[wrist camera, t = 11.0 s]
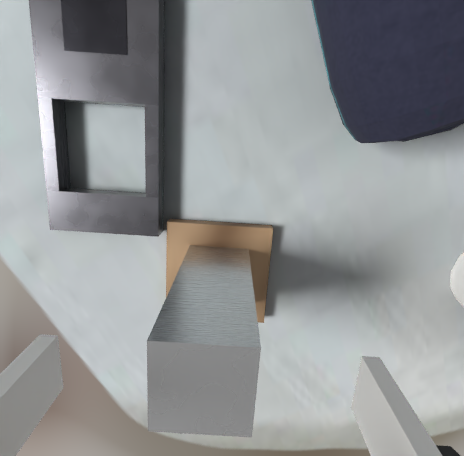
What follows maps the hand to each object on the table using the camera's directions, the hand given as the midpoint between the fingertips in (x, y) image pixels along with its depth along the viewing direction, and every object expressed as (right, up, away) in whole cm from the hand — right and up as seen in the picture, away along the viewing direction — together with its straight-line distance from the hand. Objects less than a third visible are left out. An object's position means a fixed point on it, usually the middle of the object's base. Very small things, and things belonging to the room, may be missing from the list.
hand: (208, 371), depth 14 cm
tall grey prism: (0, +3, +11) cm, 11 cm away
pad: (0, +3, +12) cm, 12 cm away
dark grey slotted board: (-8, +15, +9) cm, 19 cm away
